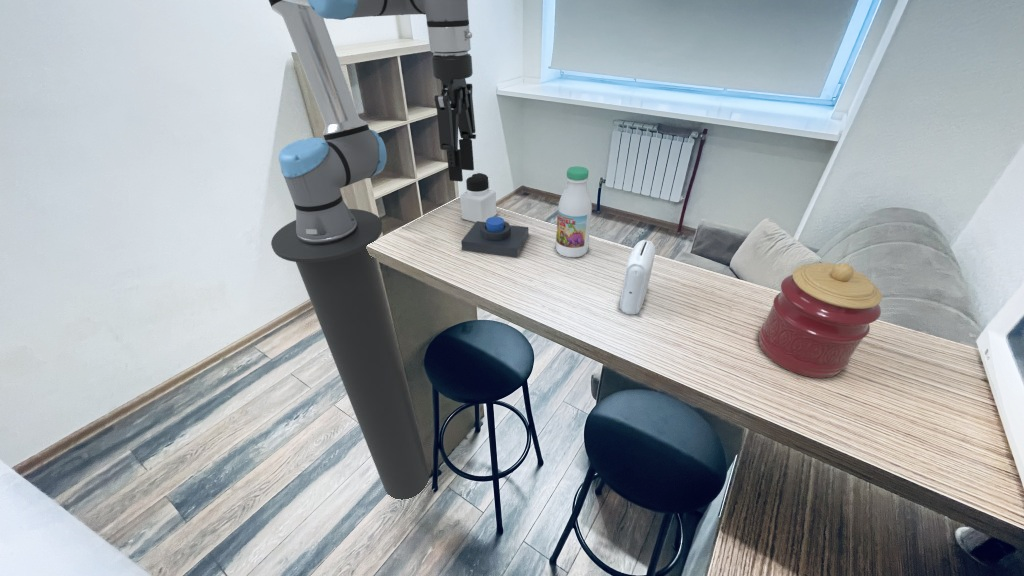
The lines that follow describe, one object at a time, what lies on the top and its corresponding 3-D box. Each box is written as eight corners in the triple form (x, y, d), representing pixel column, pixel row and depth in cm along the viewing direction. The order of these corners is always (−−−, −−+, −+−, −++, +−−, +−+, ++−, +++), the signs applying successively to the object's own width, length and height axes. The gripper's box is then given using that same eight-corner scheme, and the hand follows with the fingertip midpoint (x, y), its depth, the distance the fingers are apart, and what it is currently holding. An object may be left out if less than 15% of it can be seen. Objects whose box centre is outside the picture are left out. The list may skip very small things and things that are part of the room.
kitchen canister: (838, 338, 72) (890, 253, 62) (850, 390, 63) (914, 300, 53) (756, 318, 77) (792, 236, 67) (756, 364, 68) (798, 277, 57)
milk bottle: (565, 239, 103) (570, 161, 91) (593, 247, 99) (602, 167, 88) (549, 252, 98) (553, 171, 86) (578, 261, 94) (586, 178, 83)
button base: (462, 250, 100) (460, 233, 97) (477, 229, 108) (476, 214, 106) (517, 257, 96) (516, 240, 94) (528, 235, 105) (528, 220, 102)
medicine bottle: (497, 214, 115) (495, 173, 108) (482, 224, 110) (480, 182, 103) (476, 209, 118) (473, 169, 111) (461, 219, 113) (457, 177, 106)
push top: (484, 231, 99) (483, 223, 97) (489, 223, 102) (489, 215, 101) (501, 233, 98) (501, 225, 96) (506, 225, 101) (506, 217, 100)
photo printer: (639, 317, 78) (650, 263, 71) (616, 312, 79) (626, 258, 72) (648, 288, 85) (660, 236, 78) (628, 284, 87) (637, 232, 80)
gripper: (449, 60, 67) (462, 193, 81) (486, 47, 82) (492, 161, 95) (408, 59, 69) (427, 189, 82) (452, 47, 83) (462, 159, 97)
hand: (462, 174), depth 89 cm, fingers open, 6 cm apart
